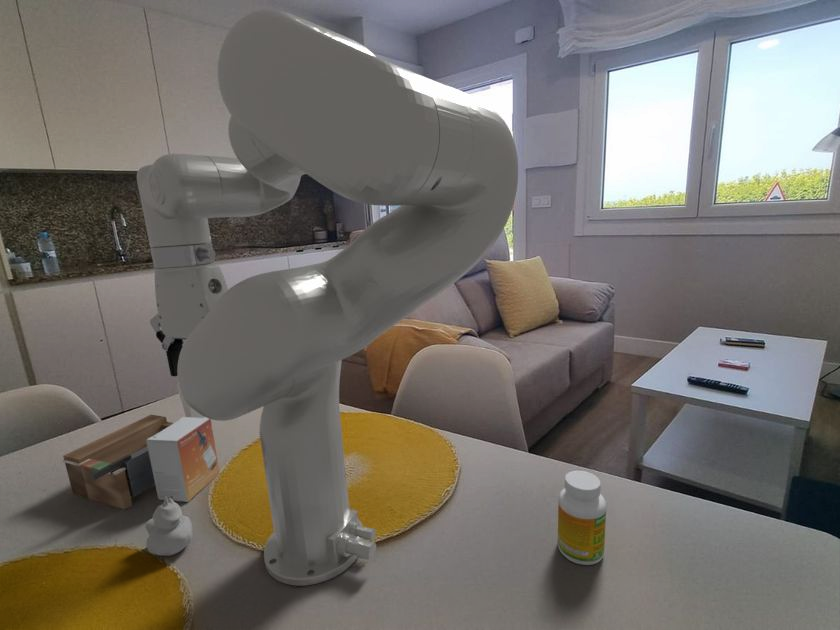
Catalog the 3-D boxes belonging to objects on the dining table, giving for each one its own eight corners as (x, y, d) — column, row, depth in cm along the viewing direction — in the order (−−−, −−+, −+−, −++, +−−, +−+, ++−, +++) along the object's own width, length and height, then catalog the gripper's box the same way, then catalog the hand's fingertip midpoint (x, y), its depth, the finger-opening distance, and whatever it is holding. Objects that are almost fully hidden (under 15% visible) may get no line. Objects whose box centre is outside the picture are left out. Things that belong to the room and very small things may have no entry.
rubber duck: (173, 568, 54) (161, 512, 52) (134, 558, 56) (121, 504, 54) (206, 538, 59) (196, 486, 57) (169, 529, 61) (159, 479, 59)
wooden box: (205, 457, 80) (199, 422, 78) (123, 510, 66) (113, 469, 64) (158, 447, 84) (151, 414, 83) (71, 495, 70) (61, 456, 69)
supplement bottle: (599, 573, 50) (602, 499, 48) (552, 556, 53) (553, 485, 50) (607, 543, 54) (610, 474, 52) (563, 528, 57) (565, 462, 55)
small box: (188, 503, 67) (176, 441, 64) (157, 500, 68) (144, 439, 65) (221, 473, 74) (211, 417, 72) (193, 471, 75) (182, 415, 73)
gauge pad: (197, 457, 78) (191, 424, 77) (104, 515, 63) (94, 476, 62) (186, 454, 79) (180, 422, 78) (92, 511, 64) (82, 472, 63)
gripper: (252, 253, 60) (270, 370, 64) (164, 258, 66) (184, 363, 70) (209, 259, 53) (231, 389, 57) (115, 263, 60) (140, 380, 63)
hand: (205, 375), depth 63 cm, fingers open, 9 cm apart
